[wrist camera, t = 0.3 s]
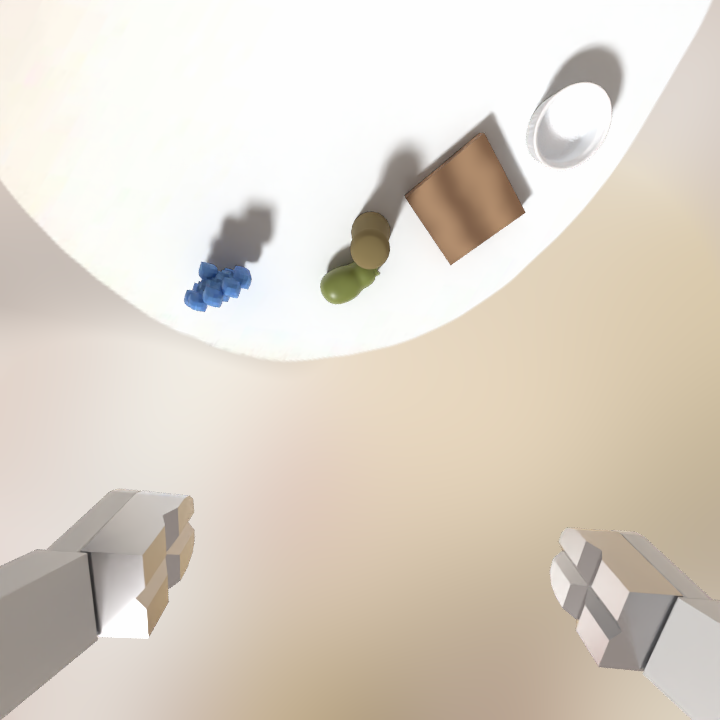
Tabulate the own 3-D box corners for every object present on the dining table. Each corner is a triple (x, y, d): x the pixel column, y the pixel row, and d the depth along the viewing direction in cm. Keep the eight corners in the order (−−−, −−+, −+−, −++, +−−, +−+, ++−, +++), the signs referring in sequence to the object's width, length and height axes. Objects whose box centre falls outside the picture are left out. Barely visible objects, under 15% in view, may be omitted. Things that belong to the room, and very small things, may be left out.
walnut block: (479, 133, 45) (484, 132, 43) (519, 209, 50) (525, 212, 48) (404, 195, 49) (405, 198, 47) (447, 260, 54) (450, 265, 52)
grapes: (248, 237, 53) (219, 259, 43) (270, 276, 57) (247, 305, 47) (188, 263, 56) (147, 290, 46) (212, 299, 59) (179, 331, 49)
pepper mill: (345, 244, 53) (339, 266, 44) (359, 205, 50) (355, 220, 41) (381, 258, 54) (382, 282, 45) (396, 220, 51) (401, 238, 42)
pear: (313, 284, 51) (372, 252, 50) (314, 275, 56) (367, 245, 55) (332, 314, 54) (388, 284, 53) (331, 304, 59) (382, 275, 57)
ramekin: (530, 87, 42) (544, 82, 39) (603, 85, 42) (625, 79, 38) (514, 169, 47) (525, 171, 43) (580, 167, 47) (597, 169, 43)
